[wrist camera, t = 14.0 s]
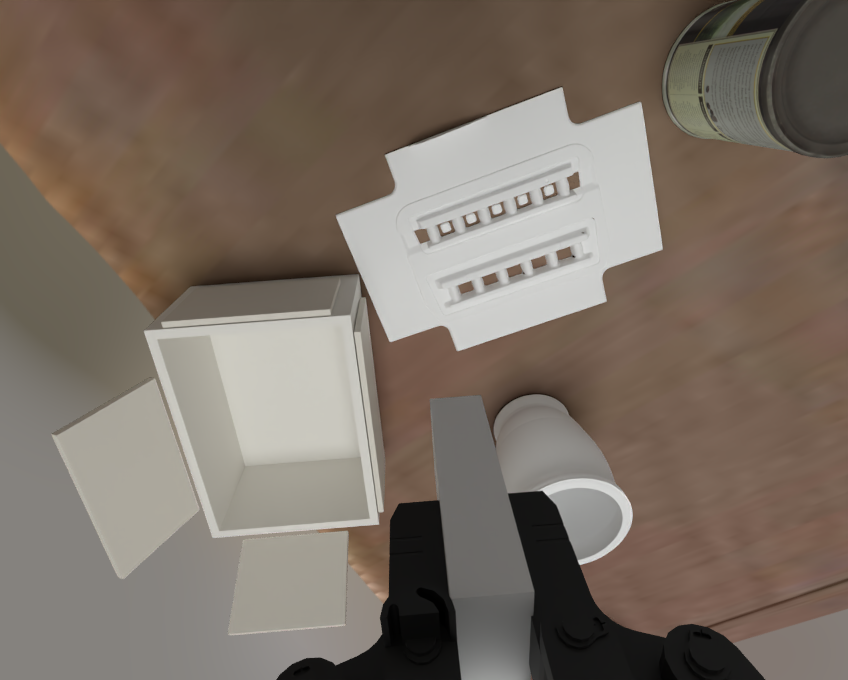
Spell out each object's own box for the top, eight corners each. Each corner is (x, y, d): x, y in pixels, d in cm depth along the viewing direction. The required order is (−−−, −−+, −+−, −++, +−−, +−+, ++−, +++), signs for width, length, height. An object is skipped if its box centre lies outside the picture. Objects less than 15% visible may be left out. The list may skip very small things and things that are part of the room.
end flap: (227, 633, 44) (229, 635, 44) (344, 624, 44) (345, 625, 44) (243, 539, 49) (244, 541, 50) (347, 530, 49) (348, 533, 50)
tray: (664, 277, 51) (681, 291, 48) (402, 362, 55) (401, 379, 52) (630, 57, 43) (648, 55, 39) (322, 176, 47) (314, 183, 43)
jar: (576, 377, 55) (634, 470, 42) (579, 453, 60) (632, 559, 46) (478, 392, 55) (504, 490, 42) (488, 467, 60) (514, 576, 46)
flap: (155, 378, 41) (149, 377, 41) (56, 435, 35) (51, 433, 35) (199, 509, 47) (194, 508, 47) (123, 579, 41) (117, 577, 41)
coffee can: (709, -25, 40) (855, -80, 27) (810, 36, 42) (989, 12, 29) (635, 109, 44) (732, 116, 31) (731, 159, 46) (859, 184, 33)
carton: (187, 280, 48) (139, 323, 39) (364, 267, 49) (357, 307, 40) (240, 469, 58) (211, 538, 49) (387, 457, 59) (385, 523, 50)
